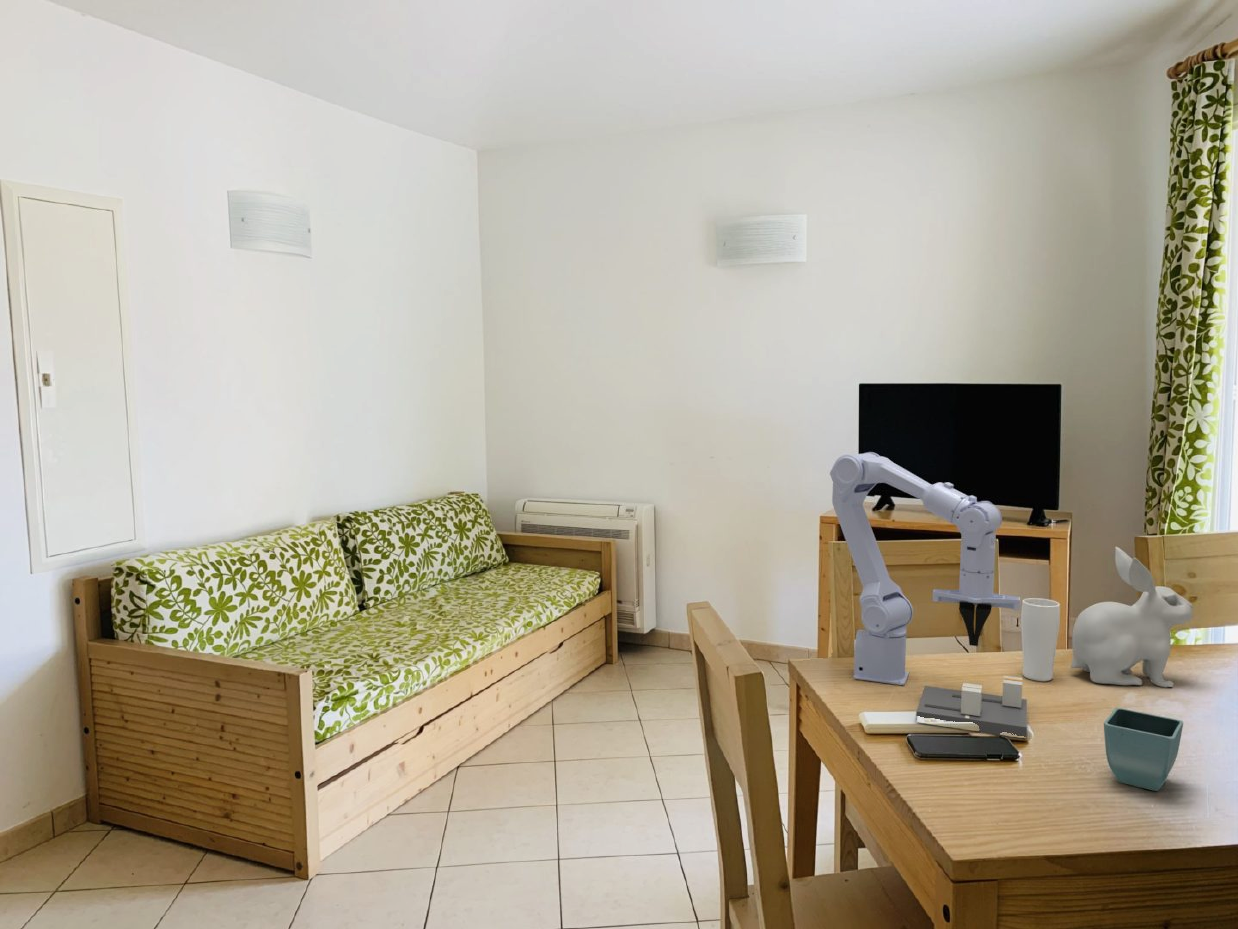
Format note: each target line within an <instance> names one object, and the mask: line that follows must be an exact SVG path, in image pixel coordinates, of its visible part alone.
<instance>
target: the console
mask: <svg viewBox="0 0 1238 929" xmlns="http://www.w3.org/2000/svg"><path fill="white" fill-rule="evenodd" d="M961 695H962V690H960V689H959V690H958V689H953V688H952V689H951V688H945V687H936V686H929V685H924V687H923V691H922V693H921V696H920V700H919V702H918V706H917V707H916V712H915V713H916V714H915V717H916V716H920V717H924V718H935V719H940V720H946V721H953V722H954V721H955V722H973V723H975V724H977V725H978V726H979V729H980V730H979V731H978V732H977V733H980V734H987V735H995V736H1000V733H1002V732H1007V733H1011V734H1012V733H1013V734H1014V735H1015V734H1016V735H1017V736H1024V737H1026V738H1027V737H1028V736H1027V734H1028V733H1027V732H1028V731H1027V730H1028V729H1027V728H1028V715H1027V714H1028V708H1027V707H1028V701H1027V700H1028V699H1026V698H1022V703H1021V708H1018V707H1011V706H1004V705H1002V696H1003V695H997V694H991V693H983V692H982V701H981V713H980V716H975V715H968V714H961ZM1013 734H1012V735H1013Z"/></svg>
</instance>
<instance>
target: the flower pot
mask: <svg viewBox="0 0 1238 929" xmlns="http://www.w3.org/2000/svg"><path fill="white" fill-rule="evenodd" d="M1183 726H1184V721H1183V720H1181V719H1176V718H1171V717H1166V716H1163V715H1161V716H1160V715H1155V714H1151V713H1146V712H1141V711H1138V710H1137V711H1136V710H1132V709H1127V708H1122V707H1115V708H1114V709H1113V710H1112V711H1111V713H1110V714H1109V716H1108V717H1107V718H1106V719H1105V720H1104V722H1103V733H1104V735H1103V736H1104V744H1105V745H1104V746H1105V755H1106V760H1107V763H1108V766H1109V767H1110V768H1109V769H1110V771H1111V772H1112V774H1113V776H1114V777H1115V779H1116V781H1117V782H1118V783H1122V784H1127V785H1129V786H1134V787H1139V788H1141V789H1146V790H1150V791H1154V792H1158V791H1160V789H1161V788H1162V787H1163V786H1164V784H1165V781H1166V780H1167V778H1168V776H1169V774H1170V772H1171V770H1172V768H1173V767H1174V765H1175V762H1176V760H1177V757H1178V753H1179V750H1180V748H1179V747H1180V743H1181V739H1182V733H1183Z"/></svg>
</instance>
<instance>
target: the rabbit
mask: <svg viewBox="0 0 1238 929" xmlns="http://www.w3.org/2000/svg"><path fill="white" fill-rule="evenodd" d="M1114 548H1115V550H1114V552H1115V556H1114V561H1115V568H1116V570H1117V573H1118V575H1119V577H1120V578H1121V580H1123V582H1125V583H1126V584H1127V585H1129V586H1131V587H1133V588H1134V589H1135V590H1136V591H1137V592H1142V594H1141V596H1140V597H1139V599H1138V600H1137V601H1136V602H1135V603H1134V604H1132V605H1128V604H1125V603H1121V602H1115V601H1103V602H1097V603H1095V604H1093V605H1090V606H1088V607H1087V608H1085V609H1084V610H1081V612H1080V613H1079V614H1078V616H1077V617H1076V619H1075V622H1074V625H1073V629H1072V636H1071V640H1072V641H1071V642H1072V655H1073V656H1072V659H1071V660H1072V661H1071V663H1070V669H1082V671H1085V672H1088V673H1089V678H1090V680H1091V681H1092V682H1093V683H1096V684H1104V685H1105V684H1106V685H1108V684H1109V685H1118V686H1119V685H1120V686H1132V685H1133V686H1134V685H1135V686H1142V685H1143V680H1142V679H1141V678H1139V677H1138V676H1135V675H1132V673H1133V672H1132V670H1131V668H1133V667H1135V665H1137V664H1138V663H1141V662H1142V667H1141V668H1142V670H1141V672H1142V673H1143V675H1144V676H1145V677H1147V678H1150V681H1151V683H1153V684H1154V685H1156V686H1157V687H1161V688H1167V687H1172V688H1173V687H1174V686H1175V684H1174V682H1173V681H1171V680H1165V679H1164V678H1165V676H1164V670H1165V669H1166V666H1167V662H1168V659H1169V657H1170V654H1171V645H1172V643H1171V640H1172V639H1171V637H1172V636H1171V631H1170V630H1171V628H1172V626H1174V625H1175V626H1176V625H1183V624H1184V623H1186V622H1189V621H1190V622H1191V621H1192V619H1193V618H1194V611H1193V607H1194V605H1193V604H1192V603H1191V602H1190V601H1188V599H1186V598H1184V597H1183V596H1182V595H1180V594H1178V593H1177V592H1176V591H1175V590H1173V589H1172V588H1170V587H1167V586H1161V585H1160V586H1156V585H1155V581H1154V580H1155V579H1154V577H1153V575H1152V573H1151V571H1150V570H1149V569H1148V568H1147V567H1146V566H1145V565H1143V563H1142V562H1141V561H1140V559H1138V558H1136V557H1133V558H1131V556H1129V555H1128V554H1127V553H1126V551H1124V550H1122V549H1121V548H1120V547H1118V546H1115V547H1114Z"/></svg>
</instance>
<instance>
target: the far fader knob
mask: <svg viewBox="0 0 1238 929" xmlns="http://www.w3.org/2000/svg"><path fill="white" fill-rule="evenodd" d="M1001 696H1002V705H1004V706H1011V707H1018V708H1021V703H1022V699H1023V677H1019V676H1018V677H1017V676H1010V675H1003V678H1002V695H1001Z"/></svg>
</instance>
